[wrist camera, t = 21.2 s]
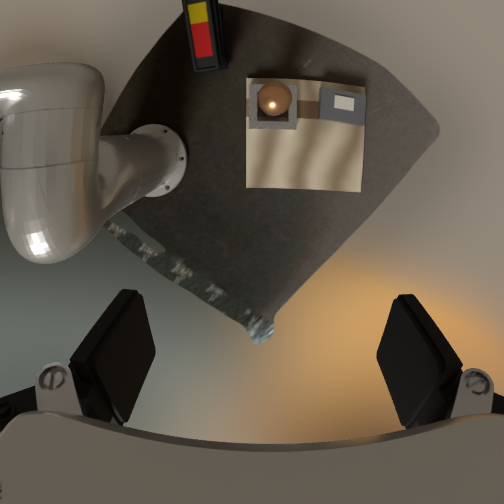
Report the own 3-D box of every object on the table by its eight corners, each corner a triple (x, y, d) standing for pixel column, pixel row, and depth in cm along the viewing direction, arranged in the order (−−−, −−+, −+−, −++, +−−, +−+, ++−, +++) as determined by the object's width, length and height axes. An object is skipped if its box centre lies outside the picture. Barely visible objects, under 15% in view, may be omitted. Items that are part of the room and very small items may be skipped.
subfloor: (246, 186, 46) (246, 187, 45) (246, 79, 39) (246, 78, 38) (358, 191, 45) (360, 192, 44) (362, 88, 38) (364, 87, 37)
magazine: (222, -3, 31) (210, -9, 21) (231, 63, 41) (223, 83, 31) (200, 1, 31) (179, -3, 21) (210, 66, 41) (194, 87, 31)
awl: (259, 119, 40) (257, 113, 29) (259, 96, 39) (257, 81, 27) (284, 120, 40) (292, 113, 28) (284, 97, 39) (292, 82, 27)
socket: (249, 129, 41) (248, 128, 39) (249, 86, 38) (248, 84, 36) (294, 130, 41) (296, 129, 39) (295, 88, 38) (296, 85, 36)
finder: (316, 119, 40) (320, 118, 37) (318, 89, 38) (322, 86, 35) (357, 126, 40) (364, 125, 37) (360, 97, 38) (366, 95, 35)
